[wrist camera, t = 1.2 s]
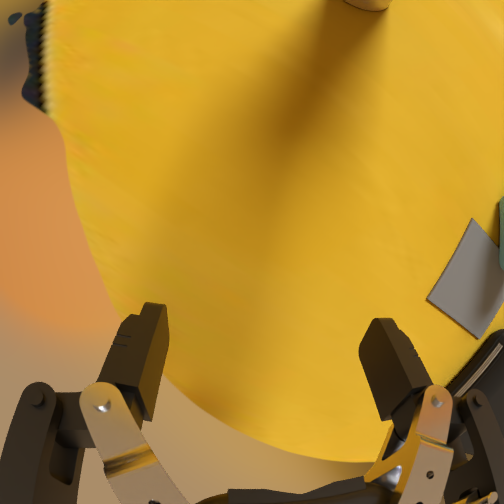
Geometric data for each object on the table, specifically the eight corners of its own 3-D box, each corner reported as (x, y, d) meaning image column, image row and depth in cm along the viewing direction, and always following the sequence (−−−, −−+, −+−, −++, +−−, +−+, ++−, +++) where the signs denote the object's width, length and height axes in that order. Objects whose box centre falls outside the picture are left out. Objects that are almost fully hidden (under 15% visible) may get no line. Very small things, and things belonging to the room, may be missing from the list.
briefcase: (542, 354, 34) (561, 371, 25) (468, 439, 42) (481, 462, 32) (513, 289, 32) (545, 309, 22) (409, 415, 40) (425, 450, 30)
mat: (471, 218, 30) (473, 218, 30) (516, 273, 31) (517, 274, 31) (426, 298, 34) (427, 299, 33) (478, 338, 34) (479, 339, 34)
